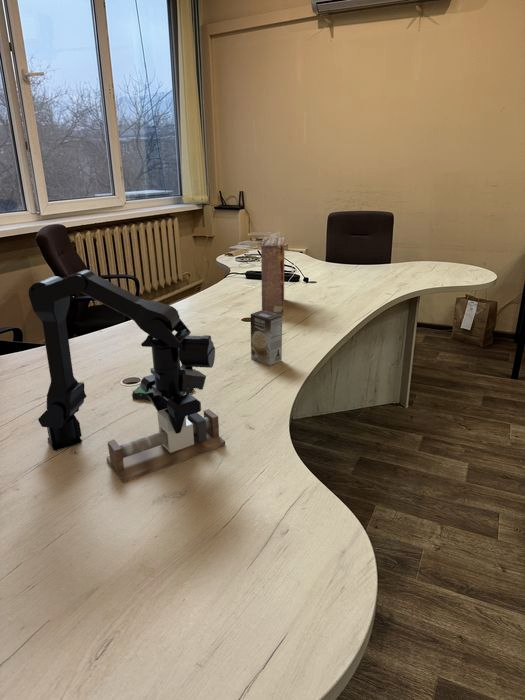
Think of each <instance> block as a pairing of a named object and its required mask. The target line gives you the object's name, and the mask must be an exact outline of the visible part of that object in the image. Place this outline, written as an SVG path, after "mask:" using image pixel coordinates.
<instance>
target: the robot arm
mask: <svg viewBox="0 0 525 700" xmlns="http://www.w3.org/2000/svg"><path fill="white" fill-rule="evenodd" d="M27 291H28V293H27V295H28V299H29V302H30V305H31V308H32V311H33V313H34V314H35V315H36V316H37V317H38V319H39V320H40V321H41V325H42V332H43V337H44V345H45V350H46V357H47V363H48V369H49V370H48V371H49V376H50V384H49V387H48V391H47V394H46V410H45V411H44V412H43V413H42V414H41V415H40V416H39V417H38V418H37V421H38V423H39V424H40V426H41V427H42V428H47V429H46V430H47V434H48V435H47V436H48V437H47V441H48V443H49V445H50V447H51V449H52V450H53V451H54V452H56V451H59V450H63V449H65V448H66V449H67V448H69V447H72V446H75V445H78V444H81V443H82V442H83V441H82V438H81V437H83V436H82V435H83V434H82V430H81V429H82V428H81V424H80V421H79V419H78V418H77V416H76V413H78V412H79V411H80V410H79V409H80V407H82V405H83V404H84V401H85V399H86V398H87V394H86V392H85V382H79V381H78V380H77V379H76V377H74V376H75V375H74V372H73V364H72V363H73V362H72V357H71V348H70V341H69V334H68V328H67V319H66V318H67V314H68V311H69V308H70V305H71V296H73V295H76V294H78V293H81V294H83V295H86V296H88V297H90V298H91V299H93V300H95V301H97V302H99V303H101V304H103V305H104V306H106V307H109V308H111V309H113V310H114V311H117V312H118V313H120V314H122V315H124V316H126V317H128V318H130V319H131V320H132V321H133V322H135V324H136V325H137V327H138V328H139V329H140V330H142V331H143V332H144V333H146V334H147V337H146V338H145V340H144V341H143V342H141V344H140V345H141V346H142V347H146V348H147V347H149V348H151V355H152V363H153V367H151V368H150V373H151V374H150V375H146V376H143V378H142V379H141V380H140V384H141V389H142V390H143V391H145V392H148V391H149V389H150V393H148V394H147V396H148V397H149V399H150V400H151V401H150V402H151V403H152V405H153V406H154V408H155V410H156V411H160V410H163V409H166V410H164V411H165V413H166V415H167V417H168V419H169V421H170V423H171V425H172V427H173V429H174V431H175V433H176V434H178V433H180V432H181V429H182V426H183V422H184V419H185V416H186V417H187V416H188V415H191V414H194V413H200V412H201V411H202V406H201V405H202V404H201V403H202V402H201V401H200V400H199V399H198V398H196V397H195V396H193V395H191V393H190V394H187V395H184V396H182V395H181V394H180V392H186V391H188V388H194V389H196V390H197V389H198V390H200V391H201V390H202V391H203V390H204V386H205V383H206V380H207V376H206V375H205V374H204V373H202V372H201V371H199V370H196V369H194V368H205V369H206V368H209V369H210V368H213V367H214V363H215V358H216V347H215V345H214V344H215V343H214V342H213V341H212V336H211V335H191V330H190V329H189V328H188V327H187V325H186V324H185V322H183V320H182V319H181V318H180V314H179V311H178V310H177V309H176V308H175V307H173V306H171V305H169V304H166V303H163V302H160V301H155V300H149V299H146V298H145V299H144V298H141V297H139V296H137V295H136V294H133V293H131V292H130V291H128V290H126V289H124V288H122V287H120V286H119V285H116V284H114V283H112V282H110V280H109V281H108V280H107V279H105V278H103V277H101V276H100V275H97V274H96V273H94V272H93V271H92V270H89V269H83V270H81V271H77V272H75V273H73V274H70V275H67V276H65V277H61V276H56V275H54V276H53V275H52V276H50V277H47V278H44V279H42V280H40V281H37V282H35V283H33V284H32V285H31V286H30V287H29V288H28V290H27ZM173 332H176V333H175V334H174V333H173Z"/></svg>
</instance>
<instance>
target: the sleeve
mask: <svg viewBox="0 0 525 700" xmlns="http://www.w3.org/2000/svg"><path fill="white" fill-rule="evenodd" d="M164 410H166V409H163V410H160V411H157V410H156V411H157V412H156V414H157V422H158V433H159V432H162V431H165V432H166V433H167V436H168V443H166V444H163V446H164V447H165V448H166V449H167V450H168V451H169V452H170V453H172V452H174V451H177V450H180V449H183V448H186V447H188V446H191V445H194V436H193V424H192V423H191V422H190V421H189V420H188V418H187V416H185V419H184V422H183V426H182V429H181V432H180V433H178V434H176V433H175V431H174V429H173V427H172V425H171V423H170V421H169V419H168V417H167V415H166V413H165V411H164Z"/></svg>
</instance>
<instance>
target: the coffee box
mask: <svg viewBox="0 0 525 700" xmlns="http://www.w3.org/2000/svg"><path fill="white" fill-rule="evenodd" d="M282 351H283V315H282V314H276V313H272V312H269V311H265V310H262V309H261V310H258V311H255V312H253V313H250V359H251V360H254V361H257V362H259V363H262V364H264V365H267V366H269V365H270V366H272V364H273V365H274V363H275V364H278V363H279V362H281V361H280V360H282V359H283V358H282V355H283V353H282Z"/></svg>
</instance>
